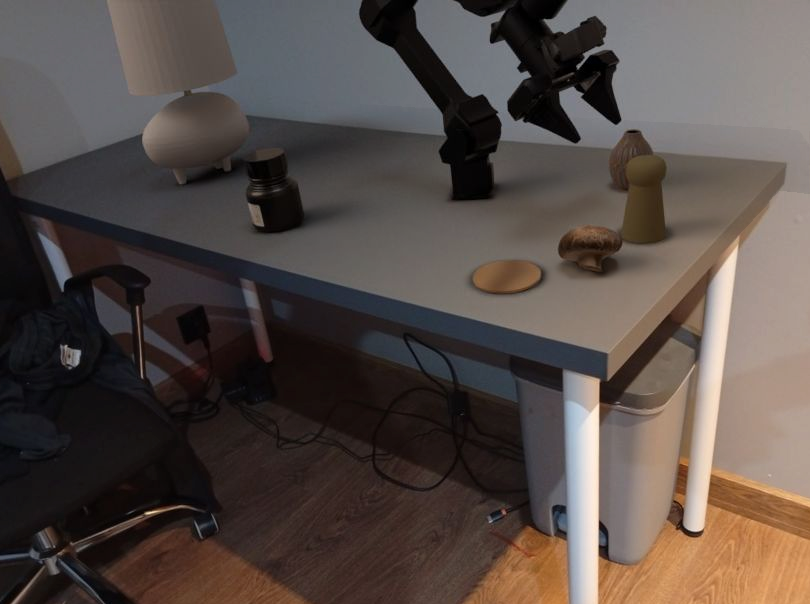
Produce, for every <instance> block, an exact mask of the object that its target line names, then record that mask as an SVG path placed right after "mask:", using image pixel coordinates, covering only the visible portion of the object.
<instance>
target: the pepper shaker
mask: <svg viewBox="0 0 810 604" xmlns="http://www.w3.org/2000/svg"><path fill="white" fill-rule="evenodd" d="M666 176H667V162H666V161H665V159H664V158H663V157H661V156H659V155H656V154H654V155H641V156H637V157H634V158H632V159H631V160H630V161H629V162H628V164H627V167H626V177H627V179H628V181H629V182H630V184H629V189H627V190H628V191H627V195H626V196H627V197H626V203H625V209H624V213H623V219H622V220H623V221H622V227H621V232H620V237H621V239H622V240H625V241H627V242H630V243H635V244H650V243H655V242H659V241H661V240H663V239H664V238H666V236H667V230H666V218H665V207H664V196H663V195H664V194H663V184H662V183H663V182H662V181H664V180H665V178H666Z"/></svg>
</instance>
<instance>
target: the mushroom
mask: <svg viewBox="0 0 810 604" xmlns="http://www.w3.org/2000/svg"><path fill="white" fill-rule="evenodd" d="M622 247H623V238H622V237H621V235H619V233H617V232H616V231H615V230H613V229H611V228H608V227H605V226H600V225H591V224H587V225H586V224H585V225H579V226H577V227H574V228H572V229H570V230H569V231H568V232H567V233H565V234H564V235H563V236H562V237H561V239H560V240H559V243H558V247H557V253H558V256H559V257H560V258H561V259H563V260H567V261H574V262H576V263H577V264H578V267H580V268H582V269H585V270H587V271H592V272H597V273H601V272H603V269H602V263H603V260H605V259H606V258H607V257H609V256H611V255H614V254H616V253H617V252H619V251H620V250H621V248H622Z"/></svg>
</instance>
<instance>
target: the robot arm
mask: <svg viewBox="0 0 810 604" xmlns="http://www.w3.org/2000/svg"><path fill="white" fill-rule="evenodd" d="M418 1H419V0H361V3H360V6H359V10H358V17H359V20H360V23H361V25H362V26H363V28H364V29H365V30H366V32H367V33H368V34H369V35H370V36H372V38H374V40H376V42H379V43H381V44H383V45H385V46H387V47H390V48H392V49H393V50H394V51H395V52H396V54H397V55H398V56H399V58H400V59H401V61H402V63H404V64H405V66H406V67H407V69H408V70H409V71H410V73H411V74H412V75H413V77H414V78H415V79H416V81H417V82H418V83H419V85H420V86H421V87H422V89H423V90H424V92H425V93H426V94H427V95H428V97H429V98H430V99H431V101H432V102H433V103H434V105H435V106H436V107H437V109H438V110H439V111H440V113H441V116H442V123H443V133H444V134H445V136H446V139H445V141H444V142H443V144H442V145H441V146H440V148H439V149H438V154H439V158H440V160H441V163H443V164H445V165H449V166H450V167H449V168H450V178H451V185H452V186H451V188H452V193H451V195H450V198H451V200H453V201H454V200H474V199H477V200H478V199H489V198H490V196H491V193H492V191H493V190H494V189H495V185H496V184H495V170H494V169H495V168H494V163H493V162H491V160H490V155H492V154H494V153H496V152H497V151H498V147H499V142H500V139H501V137H502V127H503V124H502V121H501V119H500V117H499V115H498V114H499V110H497V109H495V107H493V105H492V104H491V102H490V101H489V99H488V97H487V96H485V94H483V93H481V94H479V95H478V94H477V95H475V96H471V95H470V94H468V93H467V92H466V91H465V90H464V89H463V88H462V86H461V85H460V83H459V82H458V81H457V79H456V78H455V77H454V75H453V74H452V73H451V72H450V70H449V69H448V68H447V66H446V65H445V63H444V62H443V61H442V59H441V58H440V57H439V56H438V54H437V53H436V51H435V50H434V49H433V48H432V46H431V45H430V44H429V42H428V41H427V39H426V38H425V37H424V36H423V34H422V33H421V32H420V30H419V29H418V23H417V12H416V10H415V6H416V5H417V3H418ZM453 1H454V2H456V3H458V4H459V5H460V6H461V8H462V9H463V10H464V11H467V12H469V13H471V14H473V15H475V16H477V17H480V18H485V17H489V16H493V15H496V14H499V13H503V14H502V15H501V17H500V18H499V20H498V21H497V20H496V21H495V22H494V21H493V22H492V23H491V24H490V33H489V43H490V44H491V45H493V44H497V43H500V42H503V41H505V43H506V45H507V46H508V47H509V48H510V50H511V51H512V52H513V54H514V55H515V57H516V58H517V59H518V61H519V62H520V63H519V64H518V66H516V69H517V70H518V72H519V73H520V74H523V73H525V72H526V73H528V74H529V76H530V77H527V78H524V79H523V80H522V81H521V83H520V84H518V86H517V87H516V89H514V91H513V93H512V94H511V95H510V97H509V98H508V99H507V101H506V107H507V113H508V114H509V115H510V116H511V118H512V119H513V121H514V122H517V121H520V120H522V122H523V123H524V124H527V123H529V124H532V125H534V126H536V127H538V128H541V129H543V130H546V131H548V132H550V133H552V134H554V135H556V136H558V137H561V138H562V139H564V140H566V141H569V142H571V143H572V144H575V145H577V144H579V142H580V141H581V140H582V137H581V135H580V133H579V132H578V129H577V128H576V126H575V125H574V122H572V120H571V119H570V117H569V116H568V114H567V112H566V111H565V109H564V108H563V106H562V104H561V98H560V97H561V96H560V92H563V91H565V90H569V89H571V88H574V89H575V91H576V92H578V93H581V94H582V95H581V96H580V98H581V99H582V100H583V101H584V102H585V103H586V104H588V105H589V106H590V107H591V108H593V109H594V110H595V111H596V112H598V113H599V114H600V115H601V116H602V117H604V118H605V119H606V120H607V121H608V122H610V123H611V124H613V125H614V126H617V125H619V124H620V123H621V122H622V115H621V112H620V110H619V105H618V103H617V99H616V96H615V92H614V87H613V79H614V74H615V73H616V72H617V69H618V68H617V67H618V64H619V63H620V59H619V57H618V56H617V55H616V53H615V52H614V51H613V49H602V50H600V51H597V52H594V53H591V54H589V56H588V57H587V58H586V56H585V55H584V54H586V53H588V52H590V51H592V50H593V49H595V48H600V47H602V46H604V45H605V41H604V39H605V38H606V37H607V29H608V28H607V26H606V24H604V23H603V22H602V20H601V19H599V18H598V17H597V15H593V16H590V17H587V18H586V20H583V21H581V22H580V23H579V26H577V27H575V28H573V29H570V30H569V31H567V32H566V33H565V32H563V31H561V30H559V31H557V32H555V33H554V31H553V30H552V29H551V28H550V26H549V25H548V23H547V22H546V21H545V20H553V19H555V18H556V17H557V16H558V15H559V14H560V12H561V11H562V10H563V8H564V6H565V5H566V4H567V2H568V1H569V0H453ZM585 58H586V59H585ZM583 61H584V62H583ZM582 62H583V63H582ZM581 63H582V64H581ZM578 65H580V66H579V68H578V67H577V66H578Z"/></svg>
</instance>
